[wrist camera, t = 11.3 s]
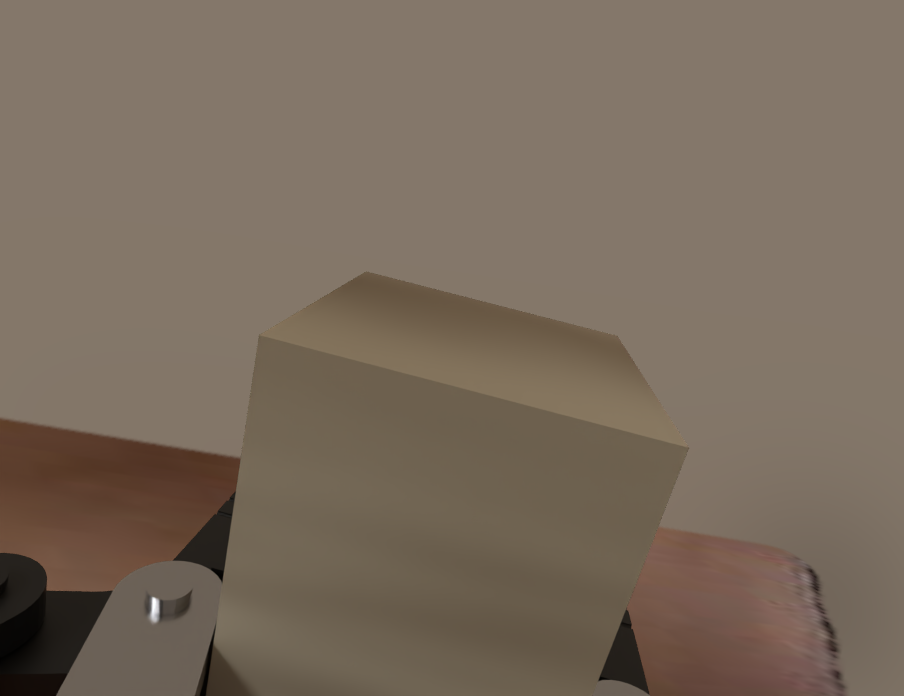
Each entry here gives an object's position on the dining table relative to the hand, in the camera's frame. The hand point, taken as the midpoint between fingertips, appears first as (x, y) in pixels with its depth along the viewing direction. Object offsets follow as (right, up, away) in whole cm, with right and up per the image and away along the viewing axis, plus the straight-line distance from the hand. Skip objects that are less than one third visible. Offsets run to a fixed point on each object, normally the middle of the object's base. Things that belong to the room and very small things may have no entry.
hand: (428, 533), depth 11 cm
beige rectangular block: (-2, -8, -1) cm, 8 cm away
